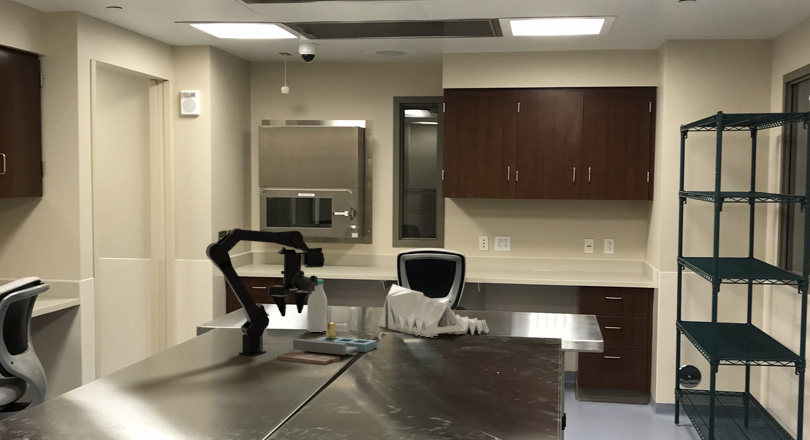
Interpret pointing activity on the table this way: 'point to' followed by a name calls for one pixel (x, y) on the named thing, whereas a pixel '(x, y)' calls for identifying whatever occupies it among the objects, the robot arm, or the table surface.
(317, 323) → the milk bottle
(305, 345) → the sliding cover
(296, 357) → the plate
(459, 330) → the white faceted model
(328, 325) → the brass pin
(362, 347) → the socket board
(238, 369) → the table surface
